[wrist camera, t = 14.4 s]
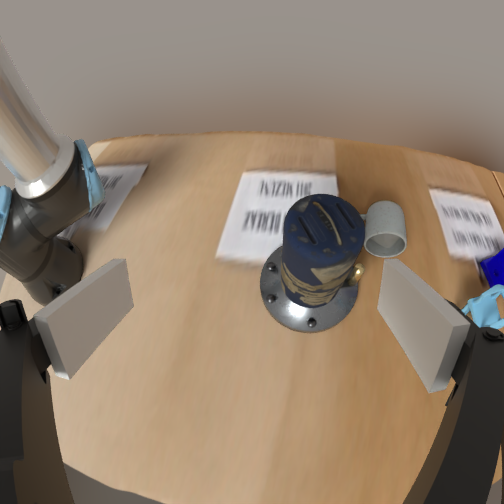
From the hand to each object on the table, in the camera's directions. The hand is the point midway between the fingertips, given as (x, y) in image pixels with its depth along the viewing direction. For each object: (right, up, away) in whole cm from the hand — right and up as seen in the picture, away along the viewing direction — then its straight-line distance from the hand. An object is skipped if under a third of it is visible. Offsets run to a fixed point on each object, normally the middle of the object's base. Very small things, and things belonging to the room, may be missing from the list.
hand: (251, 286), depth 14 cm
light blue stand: (+39, -12, +27) cm, 49 cm away
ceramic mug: (+22, +4, +37) cm, 43 cm away
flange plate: (+9, -4, +33) cm, 35 cm away
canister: (+9, -3, +32) cm, 34 cm away
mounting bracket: (+57, -2, +32) cm, 65 cm away
